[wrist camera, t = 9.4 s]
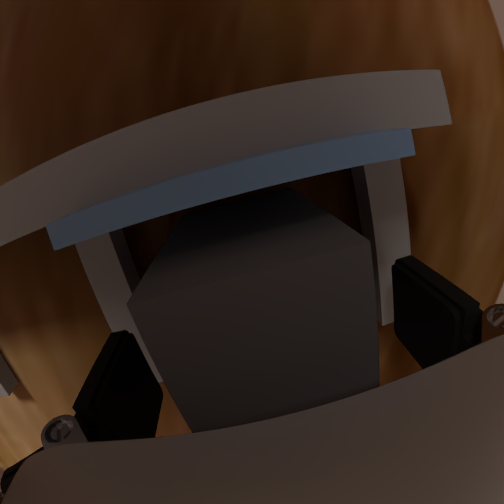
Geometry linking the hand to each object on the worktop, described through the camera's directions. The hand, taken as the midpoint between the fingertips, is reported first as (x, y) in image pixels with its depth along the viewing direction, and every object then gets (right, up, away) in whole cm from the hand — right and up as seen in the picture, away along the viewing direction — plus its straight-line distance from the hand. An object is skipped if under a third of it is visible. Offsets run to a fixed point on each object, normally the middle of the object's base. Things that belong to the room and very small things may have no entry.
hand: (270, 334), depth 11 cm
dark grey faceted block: (0, +1, +3) cm, 3 cm away
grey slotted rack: (-6, +1, +3) cm, 7 cm away
